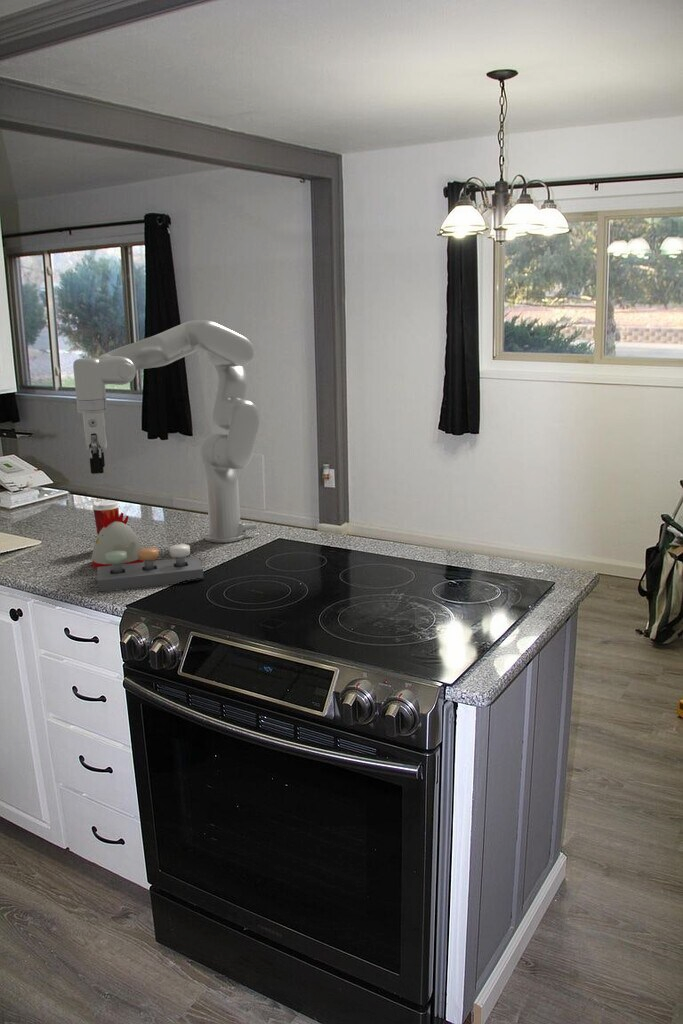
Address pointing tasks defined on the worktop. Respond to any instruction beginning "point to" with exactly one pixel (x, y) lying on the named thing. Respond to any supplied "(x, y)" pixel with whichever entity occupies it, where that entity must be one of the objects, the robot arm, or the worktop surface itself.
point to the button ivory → (180, 553)
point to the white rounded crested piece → (115, 540)
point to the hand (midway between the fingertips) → (98, 470)
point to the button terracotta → (148, 556)
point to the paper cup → (104, 507)
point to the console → (148, 574)
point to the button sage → (116, 560)
